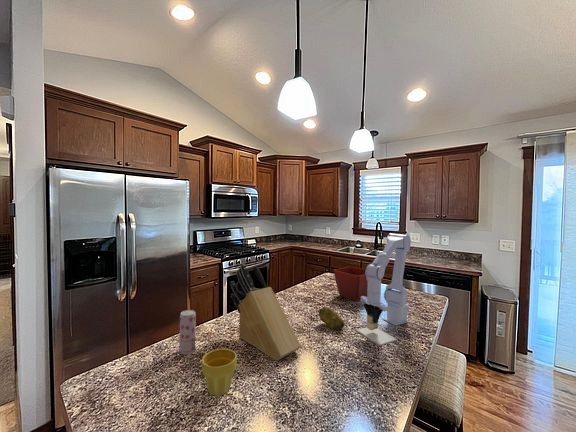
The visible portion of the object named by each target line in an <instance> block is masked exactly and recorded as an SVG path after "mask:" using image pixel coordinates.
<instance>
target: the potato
mask: <svg viewBox="0 0 576 432" xmlns="http://www.w3.org/2000/svg"><path fill="white" fill-rule="evenodd" d="M318 317H319V319H320V320H321V321H322V322H323V323H324V324H325V326H326V327H327V328H329V329H331V330H342V329H344V328H345V321H344V320H343V318H342V317H341V316H340V315H339V314H338V313H337V312H336V311H335V310H333V309H332V308H331V307H328V306H324V307H321V308H320V309H319V310H318Z"/></svg>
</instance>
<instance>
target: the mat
mask: <svg viewBox="0 0 576 432" xmlns="http://www.w3.org/2000/svg"><path fill="white" fill-rule="evenodd" d="M356 332H357V333H359V334H361V335H362V336H363V337H365V338H367V339H369V341H372V342H373V343H375V344H377V345H378V346H383V345H387V344H390V343H393V342H397V341H398V339H397V338H396V337H394V336H392V335H390V334H388V333H386V332H385V331H383V330H382V329H379V328H377V329H374V330H369V329H368V328H367V326H366V327H362V328H358V329H356Z"/></svg>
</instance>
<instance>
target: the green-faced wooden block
mask: <svg viewBox="0 0 576 432" xmlns="http://www.w3.org/2000/svg"><path fill="white" fill-rule="evenodd" d="M378 323H379V322H378ZM378 323H373V314H369V315H367V314H366V327H367V328H368V329H369V330H374V329H377V328H378V327H379V325H378ZM378 329H379V328H378Z"/></svg>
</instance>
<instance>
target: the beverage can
mask: <svg viewBox="0 0 576 432" xmlns="http://www.w3.org/2000/svg"><path fill="white" fill-rule="evenodd" d="M196 314H197V313H196V311H195V310H194V309H185V310H182V311H181V312H180V315H179V353H180V354H181V355H185V356H186V355H191V354H193V353H194V352H195V351H196V333H197V331H196V324H197V323H196V319H197V315H196Z"/></svg>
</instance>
